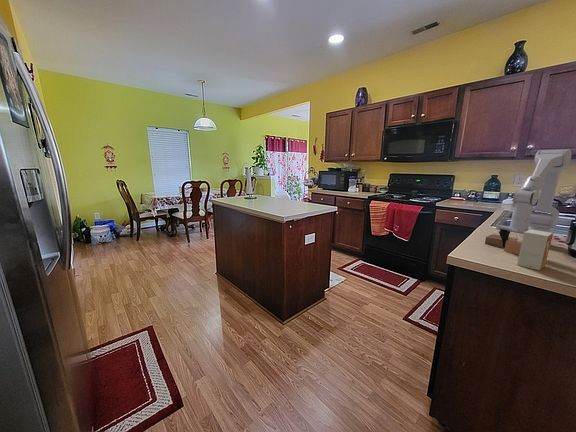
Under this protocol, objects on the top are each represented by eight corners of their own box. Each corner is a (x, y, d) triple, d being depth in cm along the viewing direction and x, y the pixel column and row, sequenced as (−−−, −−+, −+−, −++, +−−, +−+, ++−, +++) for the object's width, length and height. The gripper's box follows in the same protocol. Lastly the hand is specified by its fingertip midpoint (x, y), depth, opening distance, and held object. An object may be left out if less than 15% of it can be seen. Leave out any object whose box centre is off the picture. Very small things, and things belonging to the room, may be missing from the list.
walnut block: (492, 241, 119) (493, 233, 118) (516, 246, 111) (517, 238, 110) (484, 244, 114) (486, 236, 113) (508, 250, 107) (510, 241, 106)
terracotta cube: (508, 249, 107) (510, 239, 106) (523, 253, 102) (525, 242, 101) (503, 251, 104) (506, 240, 103) (518, 255, 100) (521, 244, 99)
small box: (540, 271, 85) (548, 236, 82) (516, 265, 90) (523, 232, 87) (545, 266, 89) (553, 232, 86) (522, 260, 94) (529, 228, 91)
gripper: (495, 216, 104) (489, 245, 107) (541, 223, 92) (533, 256, 95) (502, 214, 108) (496, 243, 111) (547, 221, 96) (540, 253, 98)
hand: (514, 249), depth 103 cm, fingers open, 6 cm apart
